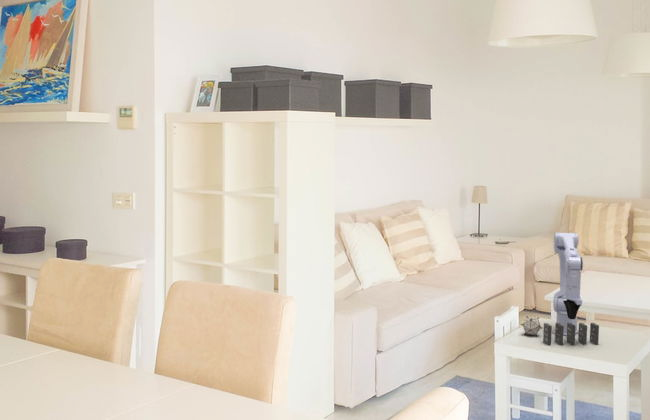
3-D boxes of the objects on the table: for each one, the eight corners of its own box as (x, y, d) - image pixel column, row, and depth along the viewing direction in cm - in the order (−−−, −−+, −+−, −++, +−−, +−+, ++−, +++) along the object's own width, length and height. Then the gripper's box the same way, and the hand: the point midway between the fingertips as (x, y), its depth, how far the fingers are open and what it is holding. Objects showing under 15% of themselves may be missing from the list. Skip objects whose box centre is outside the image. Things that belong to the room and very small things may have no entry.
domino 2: (558, 341, 315) (558, 323, 315) (562, 345, 311) (563, 325, 310) (554, 341, 315) (555, 323, 315) (559, 345, 310) (560, 325, 310)
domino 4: (581, 341, 316) (582, 322, 316) (586, 344, 311) (587, 325, 311) (578, 341, 316) (578, 322, 316) (583, 344, 311) (583, 325, 311)
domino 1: (546, 342, 315) (547, 323, 314) (551, 345, 310) (551, 326, 309) (543, 342, 315) (543, 323, 314) (547, 345, 310) (548, 326, 309)
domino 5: (592, 341, 317) (593, 322, 316) (598, 344, 312) (599, 325, 311) (589, 341, 317) (590, 322, 316) (594, 344, 312) (595, 325, 311)
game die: (526, 343, 327) (516, 322, 332) (544, 336, 328) (534, 315, 332) (529, 337, 319) (518, 316, 324) (547, 330, 320) (537, 309, 324)
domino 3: (569, 341, 316) (570, 322, 315) (574, 345, 311) (575, 325, 310) (566, 341, 316) (567, 323, 315) (571, 345, 311) (572, 325, 310)
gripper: (556, 282, 318) (555, 314, 319) (570, 289, 304) (569, 322, 305) (572, 282, 319) (571, 314, 320) (587, 289, 304) (586, 322, 306)
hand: (571, 318), depth 312 cm, fingers closed
